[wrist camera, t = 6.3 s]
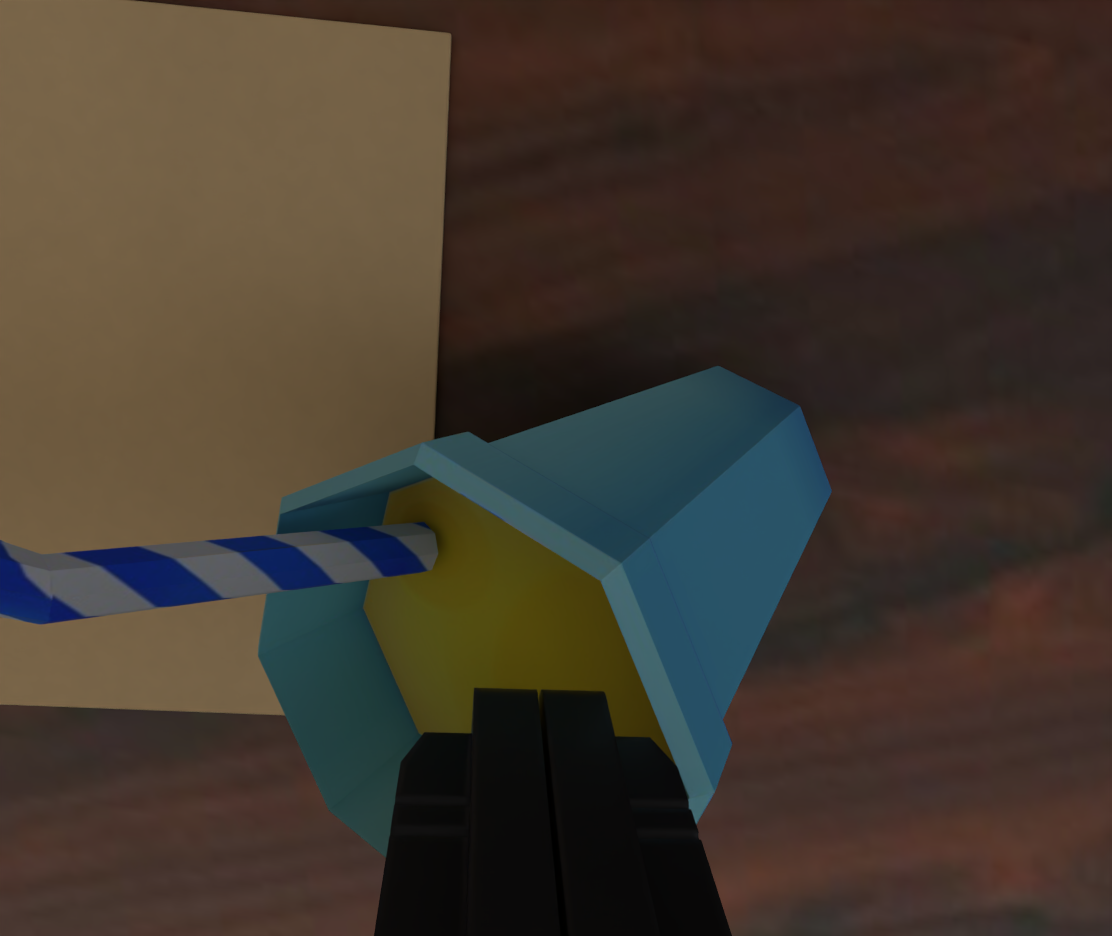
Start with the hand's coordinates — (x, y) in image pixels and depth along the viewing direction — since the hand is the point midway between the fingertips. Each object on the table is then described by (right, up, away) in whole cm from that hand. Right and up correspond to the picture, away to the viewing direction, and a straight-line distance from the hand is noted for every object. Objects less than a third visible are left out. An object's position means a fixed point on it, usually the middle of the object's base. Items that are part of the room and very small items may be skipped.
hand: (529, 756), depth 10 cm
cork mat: (-10, +5, +11) cm, 15 cm away
